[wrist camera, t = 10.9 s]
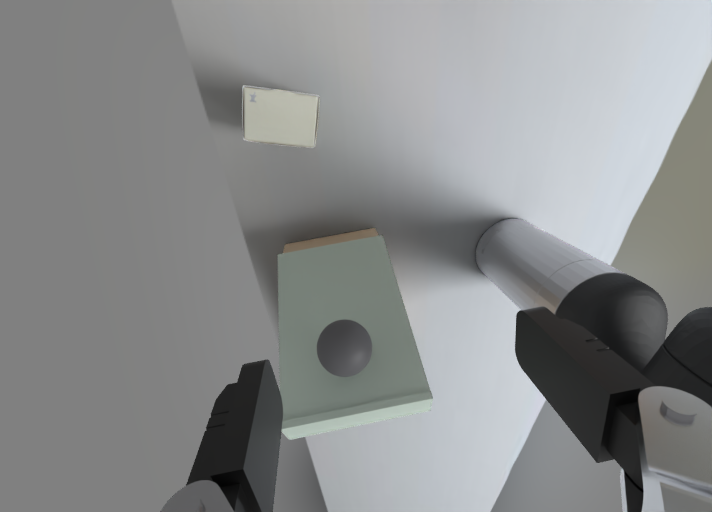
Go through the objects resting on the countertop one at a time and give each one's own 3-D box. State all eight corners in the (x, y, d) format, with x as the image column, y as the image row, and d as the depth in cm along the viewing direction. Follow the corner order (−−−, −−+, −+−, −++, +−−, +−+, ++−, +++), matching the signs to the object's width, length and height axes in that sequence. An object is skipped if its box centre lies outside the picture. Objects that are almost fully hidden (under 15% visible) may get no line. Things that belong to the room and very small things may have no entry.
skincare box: (260, 133, 39) (237, 141, 28) (260, 91, 38) (237, 83, 27) (316, 139, 40) (316, 150, 29) (319, 99, 39) (320, 94, 28)
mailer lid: (284, 270, 42) (262, 216, 35) (383, 252, 42) (380, 194, 36) (289, 439, 29) (256, 405, 23) (430, 410, 30) (439, 369, 23)
